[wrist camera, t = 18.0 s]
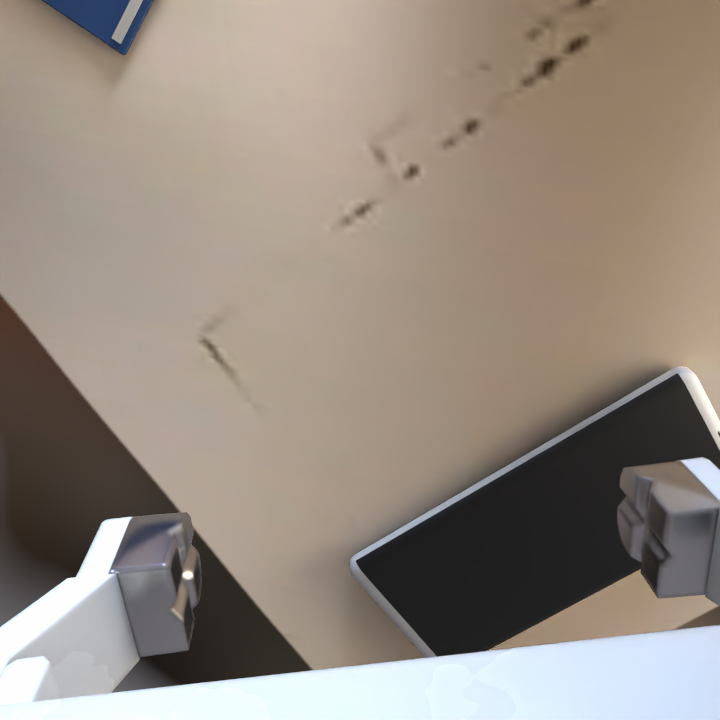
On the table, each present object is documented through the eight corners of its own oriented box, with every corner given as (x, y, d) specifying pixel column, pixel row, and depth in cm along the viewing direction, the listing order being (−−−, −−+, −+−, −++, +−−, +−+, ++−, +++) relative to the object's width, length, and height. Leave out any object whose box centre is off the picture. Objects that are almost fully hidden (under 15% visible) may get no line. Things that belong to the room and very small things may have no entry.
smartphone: (343, 554, 49) (344, 571, 48) (680, 356, 44) (694, 367, 43) (437, 661, 54) (441, 679, 52) (750, 492, 49) (765, 507, 48)
